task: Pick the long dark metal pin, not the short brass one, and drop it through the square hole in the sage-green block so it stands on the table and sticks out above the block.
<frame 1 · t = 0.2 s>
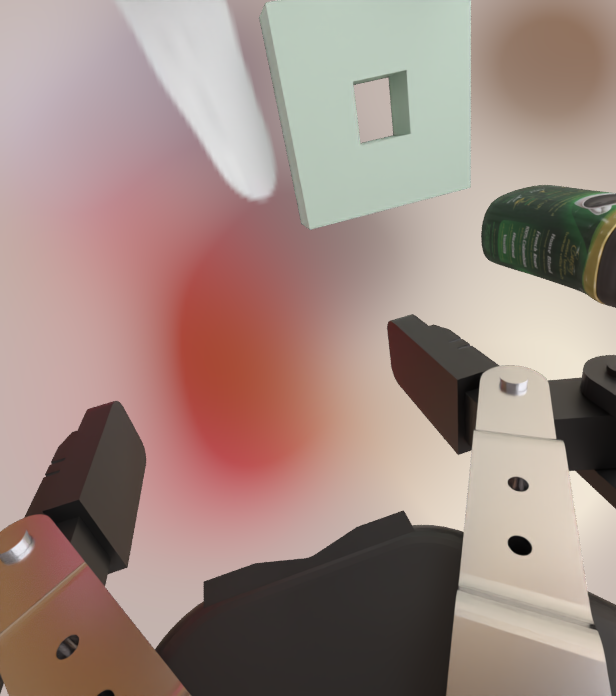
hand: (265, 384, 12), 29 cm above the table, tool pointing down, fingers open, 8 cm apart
hole block: (367, 112, 35), on the table
coffee jar: (514, 224, 44), on the table
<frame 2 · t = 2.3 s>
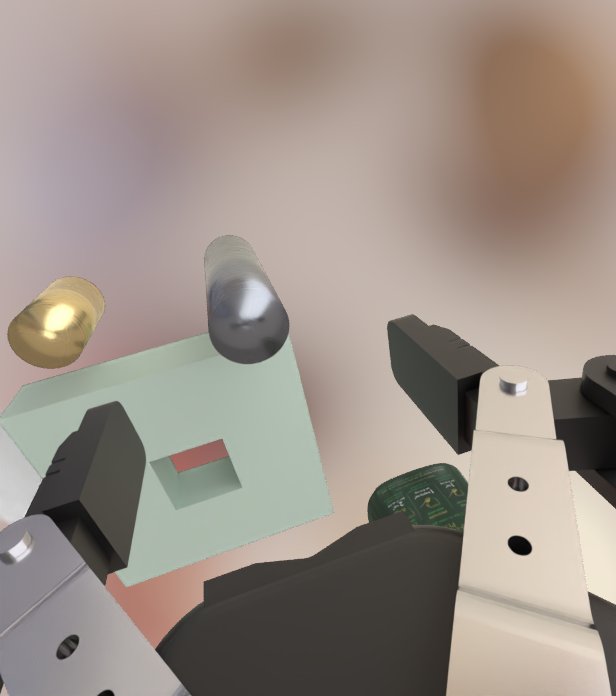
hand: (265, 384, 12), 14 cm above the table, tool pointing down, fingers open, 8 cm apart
hole block: (198, 440, 28), on the table
coffee jar: (411, 493, 37), on the table
short pin: (75, 302, 22), on the table
long pin: (230, 261, 23), on the table
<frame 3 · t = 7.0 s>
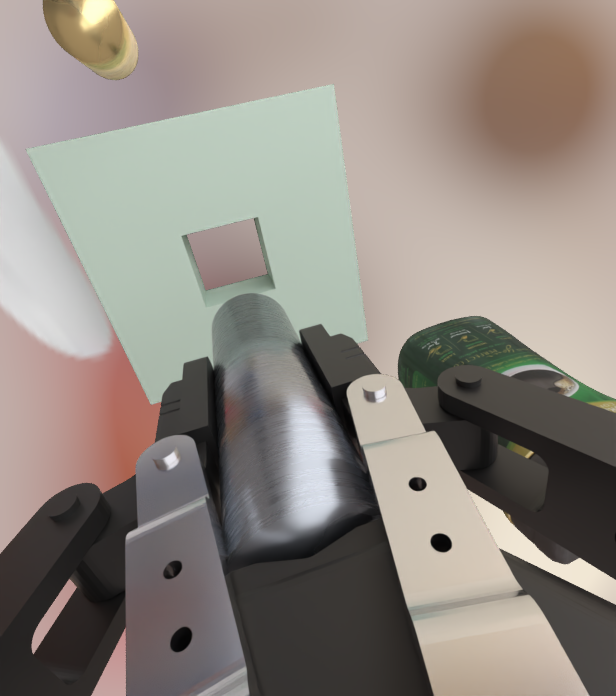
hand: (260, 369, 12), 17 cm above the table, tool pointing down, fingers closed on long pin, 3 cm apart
hole block: (227, 251, 27), on the table
coffee jar: (441, 355, 36), on the table
short pin: (107, 46, 21), on the table
long pin: (251, 330, 15), point 14 cm above the table, touching gripper
when the fingers open (5 cm above the table, at t = 9.7 s): long pin drops 1 cm, resting in hole block.
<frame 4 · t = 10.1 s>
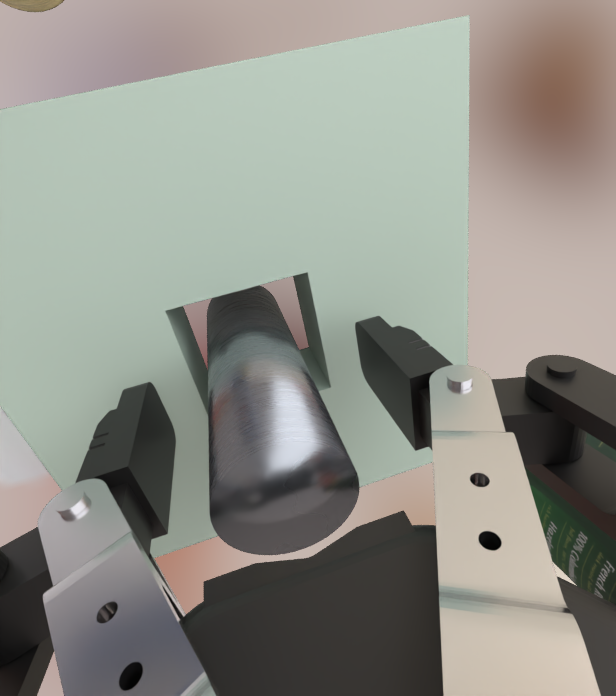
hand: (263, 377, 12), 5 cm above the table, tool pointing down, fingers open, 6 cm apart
hole block: (246, 315, 16), on the table
coffee jar: (544, 440, 25), on the table
long pin: (243, 316, 16), resting in hole block
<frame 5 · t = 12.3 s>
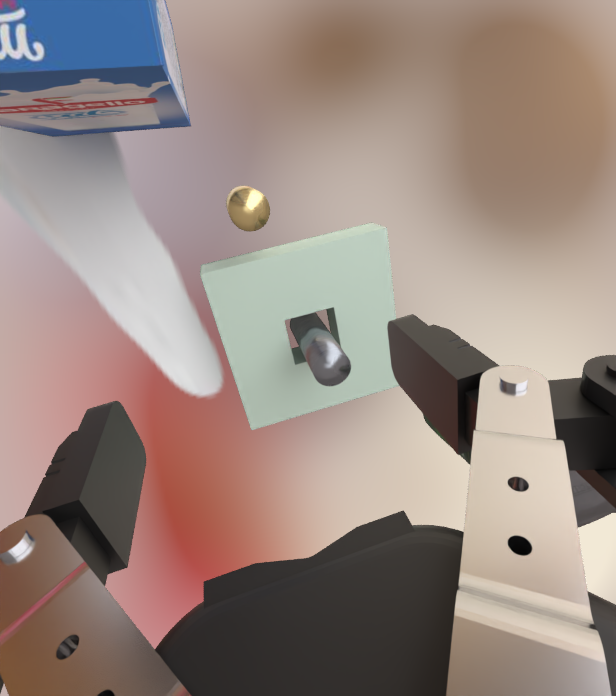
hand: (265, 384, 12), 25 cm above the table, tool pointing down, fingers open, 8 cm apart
hole block: (305, 323, 39), on the table
coffee jar: (455, 392, 47), on the table
short pin: (244, 204, 33), on the table
long pin: (304, 323, 39), resting in hole block
milk carton: (112, 82, 28), on the table
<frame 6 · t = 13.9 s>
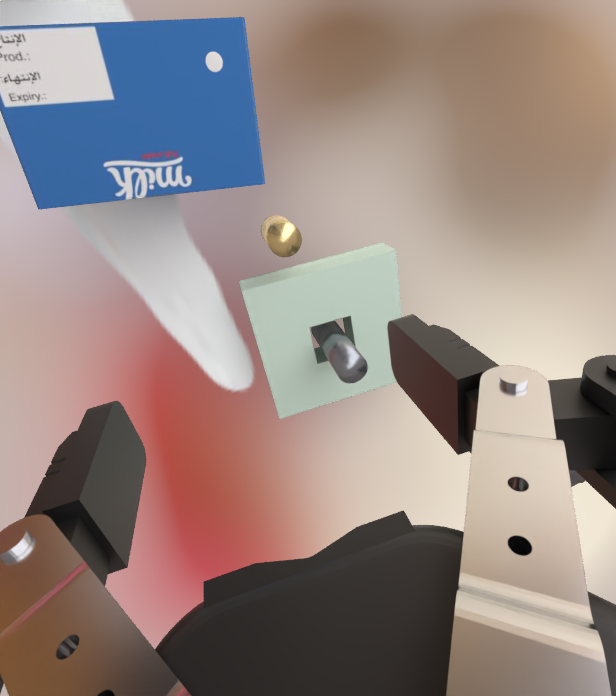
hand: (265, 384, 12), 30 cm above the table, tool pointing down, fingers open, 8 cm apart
hole block: (324, 327, 45), on the table
short pin: (275, 230, 39), on the table
long pin: (323, 327, 45), resting in hole block
milk carton: (170, 134, 34), on the table
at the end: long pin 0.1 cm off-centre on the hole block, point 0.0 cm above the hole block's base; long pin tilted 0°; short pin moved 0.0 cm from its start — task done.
